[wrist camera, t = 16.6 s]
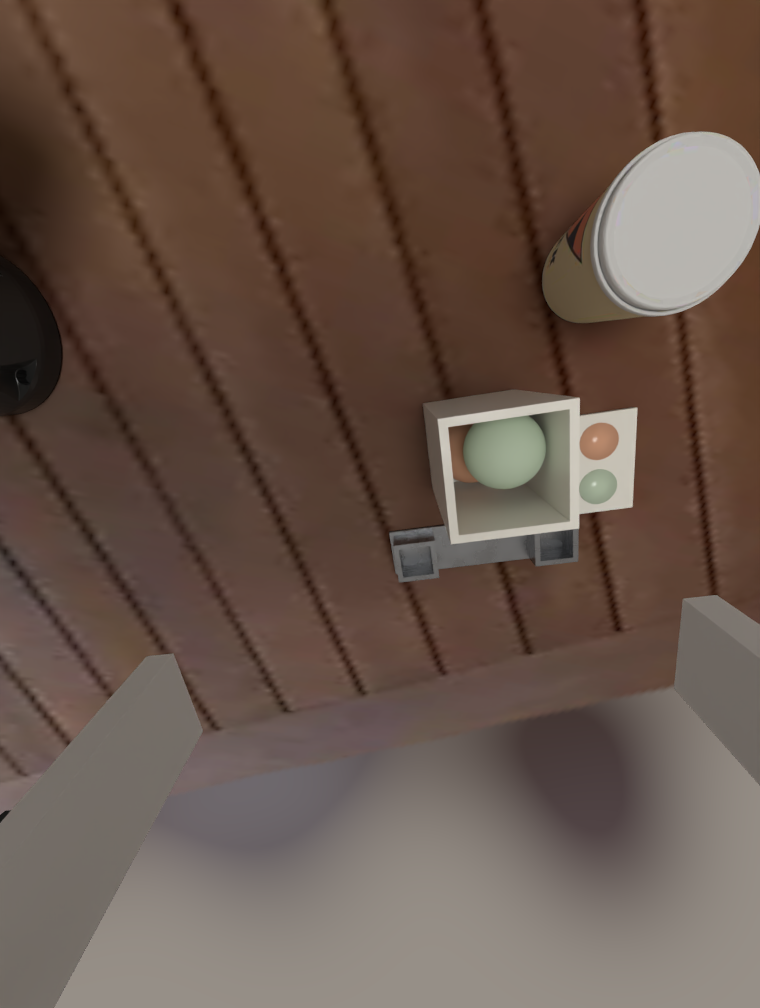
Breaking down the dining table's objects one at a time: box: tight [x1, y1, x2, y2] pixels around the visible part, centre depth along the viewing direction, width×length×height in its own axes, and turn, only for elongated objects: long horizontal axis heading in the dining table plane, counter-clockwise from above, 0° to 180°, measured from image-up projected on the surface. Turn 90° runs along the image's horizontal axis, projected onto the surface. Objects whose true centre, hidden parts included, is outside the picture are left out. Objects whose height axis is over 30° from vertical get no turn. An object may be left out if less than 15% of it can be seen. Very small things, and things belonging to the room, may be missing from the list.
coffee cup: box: [542, 132, 760, 323], centre depth 28 cm, size 9×9×12 cm
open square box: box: [423, 389, 580, 544], centre depth 32 cm, size 9×9×14 cm
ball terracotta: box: [448, 423, 479, 483], centre depth 35 cm, size 6×6×6 cm
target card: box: [579, 407, 637, 514], centre depth 39 cm, size 10×7×1 cm
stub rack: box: [389, 525, 578, 582], centre depth 41 cm, size 5×19×3 cm, turn 99°
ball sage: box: [463, 415, 546, 489], centre depth 30 cm, size 6×6×6 cm
